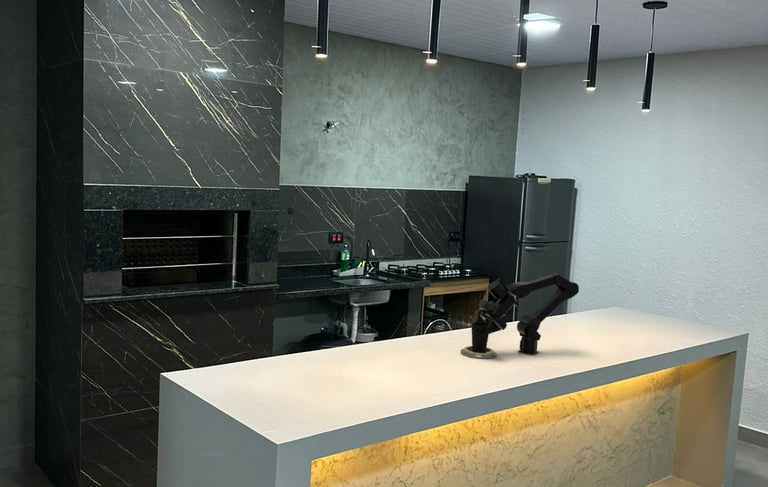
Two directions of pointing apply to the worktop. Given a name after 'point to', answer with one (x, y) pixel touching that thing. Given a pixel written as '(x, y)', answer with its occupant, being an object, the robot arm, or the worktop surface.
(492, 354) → the flange plate
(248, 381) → the worktop surface
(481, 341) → the cup
